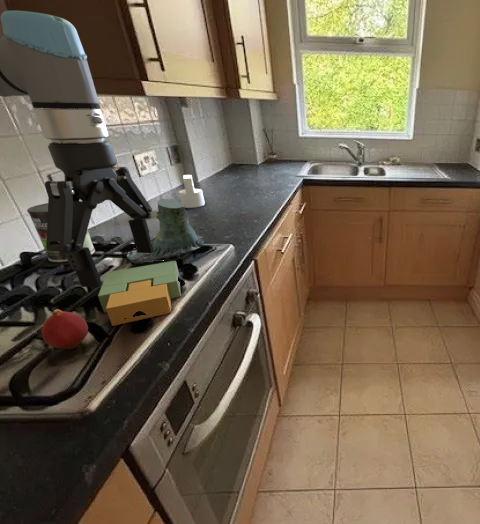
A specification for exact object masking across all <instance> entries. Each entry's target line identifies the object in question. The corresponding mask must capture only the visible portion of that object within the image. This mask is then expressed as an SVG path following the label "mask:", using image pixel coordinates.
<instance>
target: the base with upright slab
mask: <svg viewBox="0 0 480 524" xmlns="http://www.w3.org/2000/svg"><path fill="white" fill-rule="evenodd" d="M182 181H183V185H184V189H181V190H179V191H177V192H178V196H179V202H181V203H182V204H183V206H184V208H185V209H194V208H200V207H203V206H205V205H206V202H205V198H204V193H203V189H201V188H195V186H194V180H193V176H192V174H183V176H182Z"/></svg>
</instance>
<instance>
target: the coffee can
mask: <svg viewBox="0 0 480 524" xmlns="http://www.w3.org/2000/svg"><path fill="white" fill-rule="evenodd" d="M26 212H27V213H28V214H29V217H30V219H31V221H32V224H33V226H34V228H35V230H36V232H37V235H38V238H39V240H40V242H41V244H42V246H43V247H42V248H43V249H44V251H45V252H44V253H45V254H46V256H47V260H48V261H49V262H51V263H67V262H68V259H67V257H66V254H65V253H64V252H63V251H48V250H47V248H46V241H47V219H48V202H47V203H41V204H36V205H33V206H30V207H28V208H27V209H26ZM71 242H74V240H72V241H71ZM58 243H60V242H58ZM83 247H88V248H89V250H90V253H91V255H93V254H94V253H95V252H96V249H95V247H94V245H93V241H92V239H91V235H90V233H89V230H88V229H87V233H86V236H85V240H84V244H83ZM68 263H69V262H68Z"/></svg>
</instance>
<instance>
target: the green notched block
mask: <svg viewBox="0 0 480 524" xmlns="http://www.w3.org/2000/svg"><path fill="white" fill-rule="evenodd" d="M178 276H179V277H180V271H179V268H178V264H177V260H175V261H170V262H165V263H155V264H146V265H140V266H136V267H130V268H124V269H118V270H111V271H106V273H105V276H104V279H103V282H102V286H100V289H99V292H98V294H97V298H98V300H99V302H100V305H101V308H102V310H103V313H107V311H106V307H107V303H108V300H109V297H110V294H115V293H120V292H125V291H128V288H129V284H131V283H136V282H142V281H147V280H151V281H152V285H153V286H157V285H162V284H167V287H168V291H169V294H170V298H171V300H172V299H176V298H180V297H181V296H182V293H181V281H180V282H179V281H178Z"/></svg>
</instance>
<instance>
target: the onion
mask: <svg viewBox="0 0 480 524" xmlns="http://www.w3.org/2000/svg"><path fill="white" fill-rule="evenodd" d="M88 332H89V326H88V323H87V321H86V320H85V319H84V317H83V316H81V315H79V314H77V313H74V312H71V311H63V310H61V309H54V310H53V311H52V313H51V315H50V316H49V317H48V318H46V320H45V321H44V323H43V325H42V327H41V336H42V339H43V342H45V343H46V345H48V346H50V347H52V348H55V349H66V350H75V349H76V348H77V347H78V346H79V345H80V344H81V343H82V342H83V341H84V340H85V338H86V337H87V335H88Z"/></svg>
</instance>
